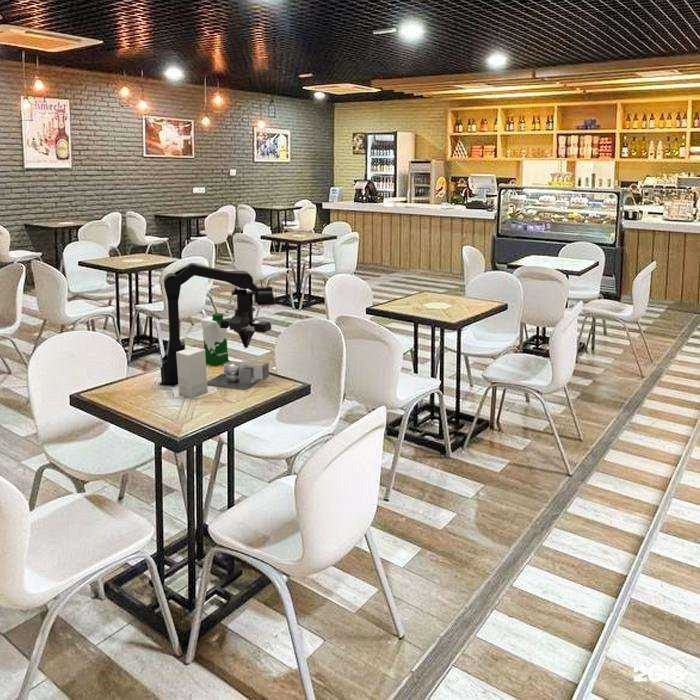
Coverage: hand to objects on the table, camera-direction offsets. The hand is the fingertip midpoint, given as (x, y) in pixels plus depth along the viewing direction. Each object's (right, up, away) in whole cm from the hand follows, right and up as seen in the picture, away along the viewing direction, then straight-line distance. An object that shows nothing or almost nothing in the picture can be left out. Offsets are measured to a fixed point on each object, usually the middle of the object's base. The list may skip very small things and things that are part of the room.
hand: (246, 347), depth 267 cm
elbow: (+1, -10, -5) cm, 12 cm away
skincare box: (-16, -16, -15) cm, 27 cm away
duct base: (-4, -13, -4) cm, 14 cm away
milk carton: (-15, -6, +22) cm, 27 cm away
